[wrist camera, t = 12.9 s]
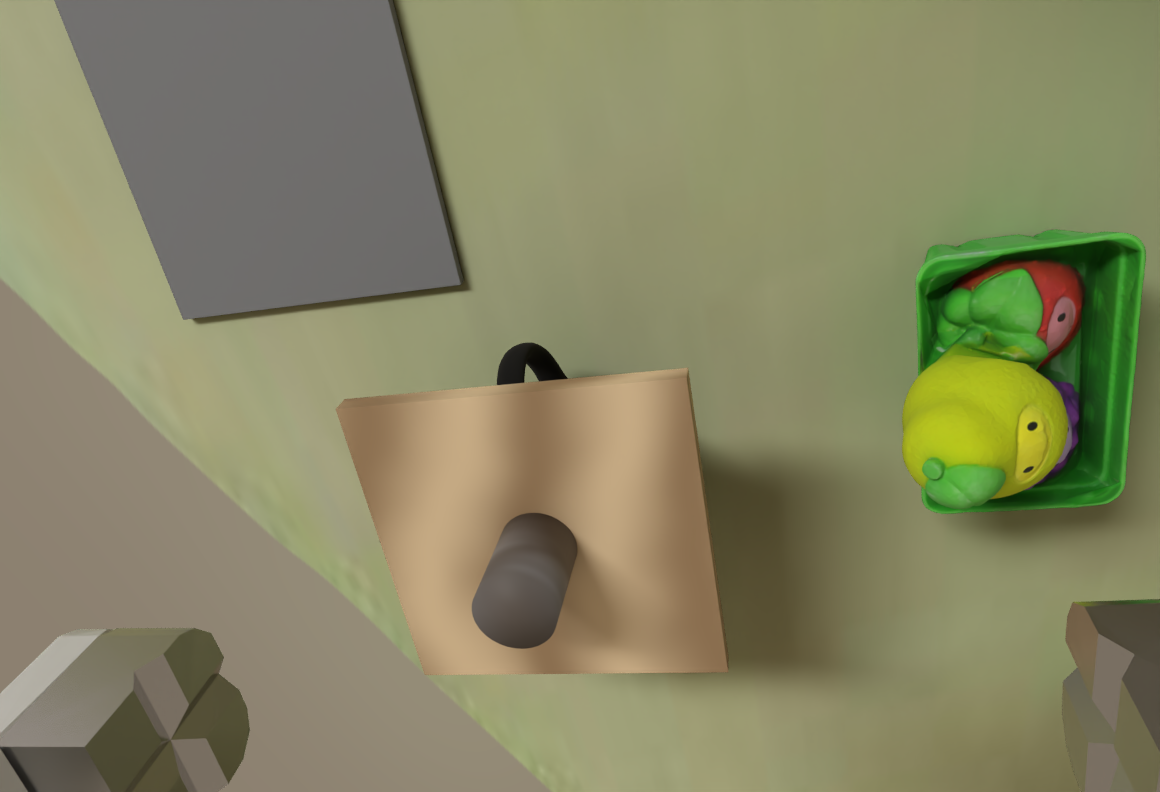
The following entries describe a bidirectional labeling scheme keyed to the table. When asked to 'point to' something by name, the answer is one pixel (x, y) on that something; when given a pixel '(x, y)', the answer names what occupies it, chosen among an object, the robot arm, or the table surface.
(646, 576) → the lid
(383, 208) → the mat
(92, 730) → the robot arm
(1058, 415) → the fruit basket
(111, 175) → the table surface
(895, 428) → the table surface
